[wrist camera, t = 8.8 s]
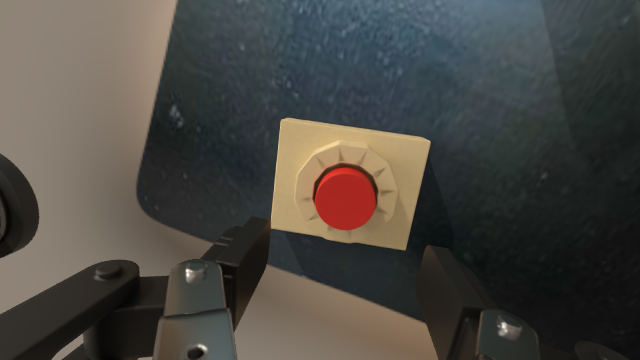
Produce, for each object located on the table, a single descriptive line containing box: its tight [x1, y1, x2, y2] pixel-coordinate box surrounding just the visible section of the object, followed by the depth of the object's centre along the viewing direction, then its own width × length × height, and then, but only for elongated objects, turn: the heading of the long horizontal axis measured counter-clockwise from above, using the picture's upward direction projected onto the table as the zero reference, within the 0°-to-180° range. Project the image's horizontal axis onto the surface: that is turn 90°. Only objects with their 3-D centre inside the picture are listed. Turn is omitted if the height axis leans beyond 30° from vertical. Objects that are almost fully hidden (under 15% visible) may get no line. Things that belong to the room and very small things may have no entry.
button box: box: [271, 118, 431, 250], centre depth 21 cm, size 10×8×4 cm
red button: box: [315, 167, 376, 230], centre depth 19 cm, size 4×4×2 cm
